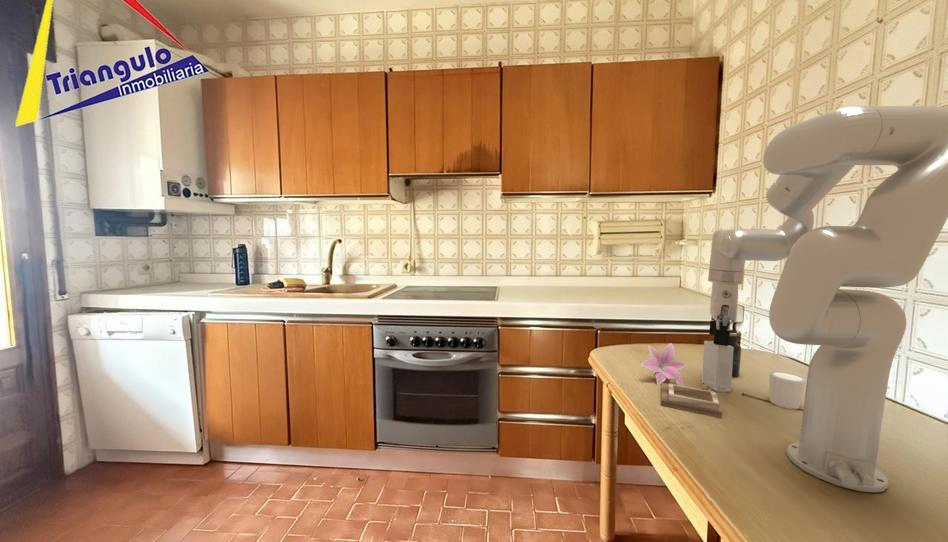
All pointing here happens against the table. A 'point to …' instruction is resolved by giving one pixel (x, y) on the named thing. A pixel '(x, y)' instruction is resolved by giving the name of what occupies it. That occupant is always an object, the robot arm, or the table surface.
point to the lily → (664, 364)
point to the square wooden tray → (690, 399)
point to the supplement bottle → (735, 354)
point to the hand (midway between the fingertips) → (718, 339)
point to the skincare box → (717, 366)
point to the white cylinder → (786, 389)
